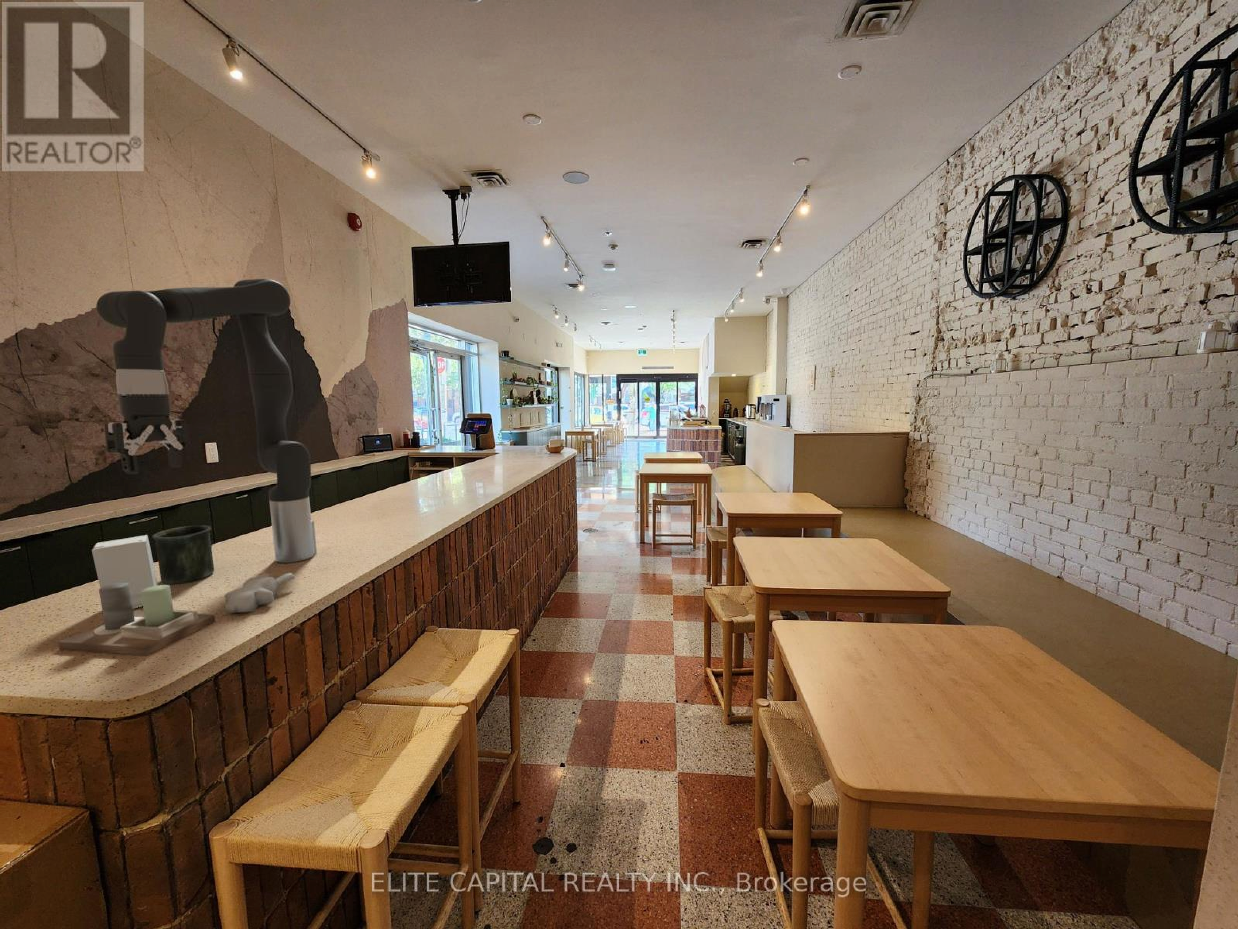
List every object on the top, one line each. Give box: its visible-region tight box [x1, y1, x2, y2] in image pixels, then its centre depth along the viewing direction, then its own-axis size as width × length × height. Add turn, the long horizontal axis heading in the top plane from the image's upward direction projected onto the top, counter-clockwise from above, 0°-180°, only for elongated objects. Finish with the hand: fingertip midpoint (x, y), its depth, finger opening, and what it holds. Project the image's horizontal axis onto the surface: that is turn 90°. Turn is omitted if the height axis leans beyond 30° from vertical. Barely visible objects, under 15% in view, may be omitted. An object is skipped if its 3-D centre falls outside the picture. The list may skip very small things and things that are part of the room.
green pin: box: [141, 584, 175, 627], centre depth 92 cm, size 4×4×8 cm
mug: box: [152, 525, 215, 585], centre depth 123 cm, size 11×15×12 cm
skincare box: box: [91, 534, 159, 610], centre depth 104 cm, size 8×6×15 cm
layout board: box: [57, 583, 216, 657], centre depth 92 cm, size 13×18×10 cm
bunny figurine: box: [224, 572, 295, 614], centre depth 108 cm, size 10×5×15 cm
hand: (154, 470), depth 101 cm, fingers open, 8 cm apart
